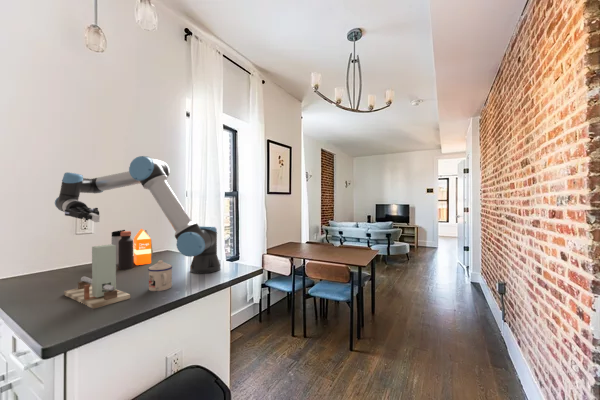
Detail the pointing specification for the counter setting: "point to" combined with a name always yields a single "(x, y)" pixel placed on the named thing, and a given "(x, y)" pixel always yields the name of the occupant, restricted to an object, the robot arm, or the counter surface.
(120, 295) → the rail base
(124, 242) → the vinegar
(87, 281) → the steel rod
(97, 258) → the pale green block
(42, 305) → the counter surface
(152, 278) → the teacup with lid
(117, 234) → the travel mug
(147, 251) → the orange juice
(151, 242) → the squeeze bottle
